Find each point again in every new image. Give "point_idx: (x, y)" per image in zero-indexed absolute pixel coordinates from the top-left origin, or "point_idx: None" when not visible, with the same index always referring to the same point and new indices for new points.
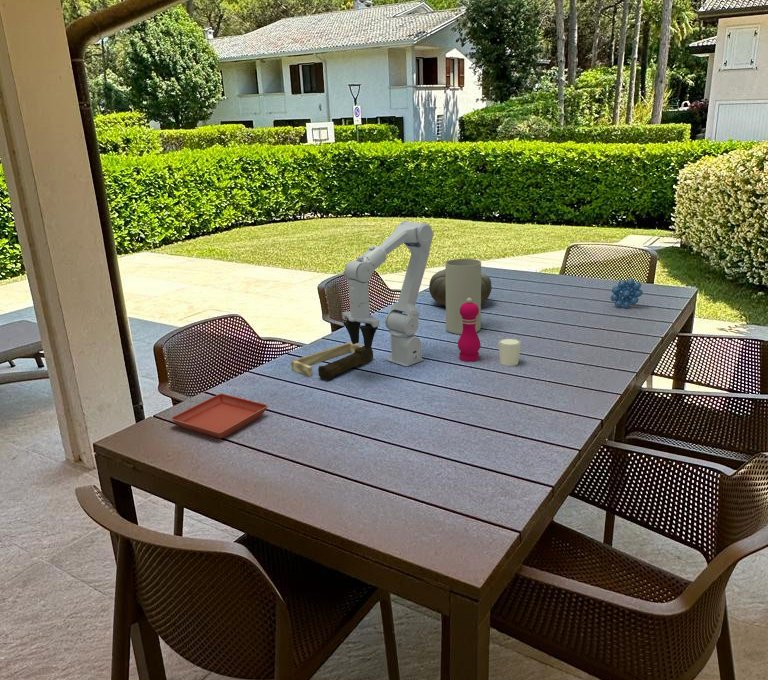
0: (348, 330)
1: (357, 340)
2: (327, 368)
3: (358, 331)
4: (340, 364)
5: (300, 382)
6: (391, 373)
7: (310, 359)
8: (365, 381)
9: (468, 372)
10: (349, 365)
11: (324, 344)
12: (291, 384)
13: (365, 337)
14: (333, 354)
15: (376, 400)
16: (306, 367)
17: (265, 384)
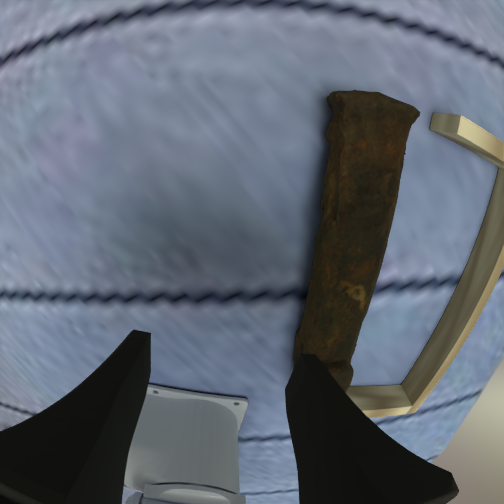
0: (375, 441)
1: (291, 398)
2: (357, 96)
3: (300, 468)
4: (337, 209)
5: (425, 45)
6: (135, 320)
7: (494, 239)
8: (159, 192)
9: (13, 390)
10: (316, 265)
11: (479, 372)
12: (436, 19)
13: (75, 393)
14: (441, 334)
15: (9, 72)
16: (471, 122)
17: (493, 9)
